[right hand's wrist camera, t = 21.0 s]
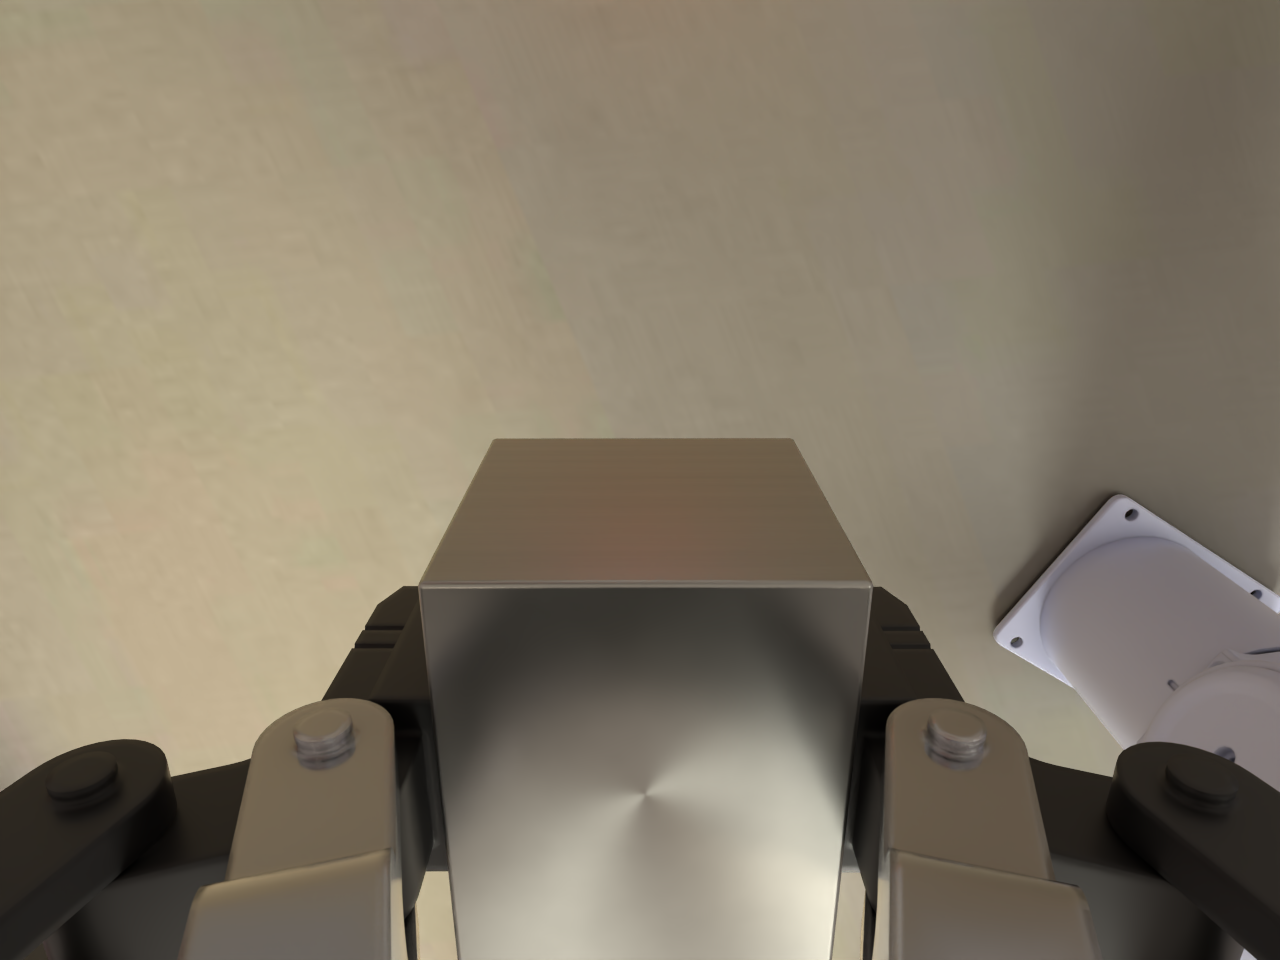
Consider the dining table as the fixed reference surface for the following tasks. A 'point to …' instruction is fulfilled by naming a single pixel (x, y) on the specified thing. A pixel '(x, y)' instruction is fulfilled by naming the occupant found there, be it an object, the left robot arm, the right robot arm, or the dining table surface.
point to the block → (645, 701)
